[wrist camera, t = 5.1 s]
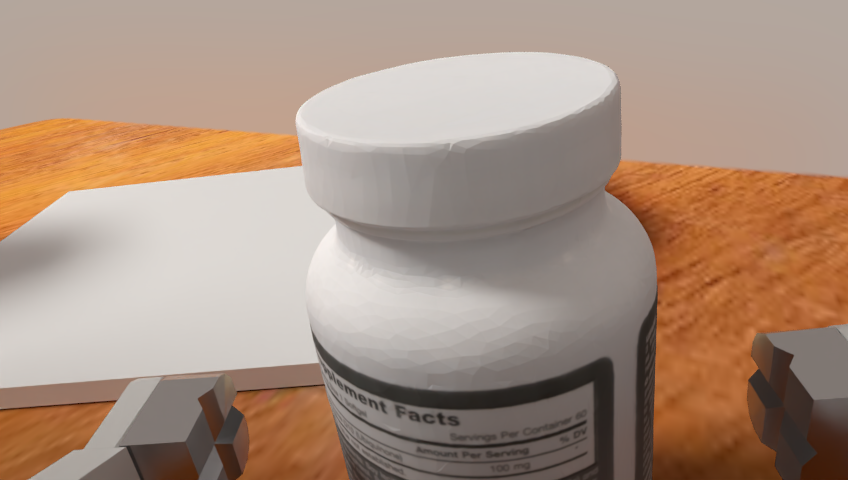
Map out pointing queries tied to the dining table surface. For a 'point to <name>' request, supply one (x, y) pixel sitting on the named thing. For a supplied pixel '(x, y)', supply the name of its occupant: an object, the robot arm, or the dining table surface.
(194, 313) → the white square tile
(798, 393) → the robot arm
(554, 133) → the pill bottle
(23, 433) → the dining table surface
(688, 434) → the dining table surface
